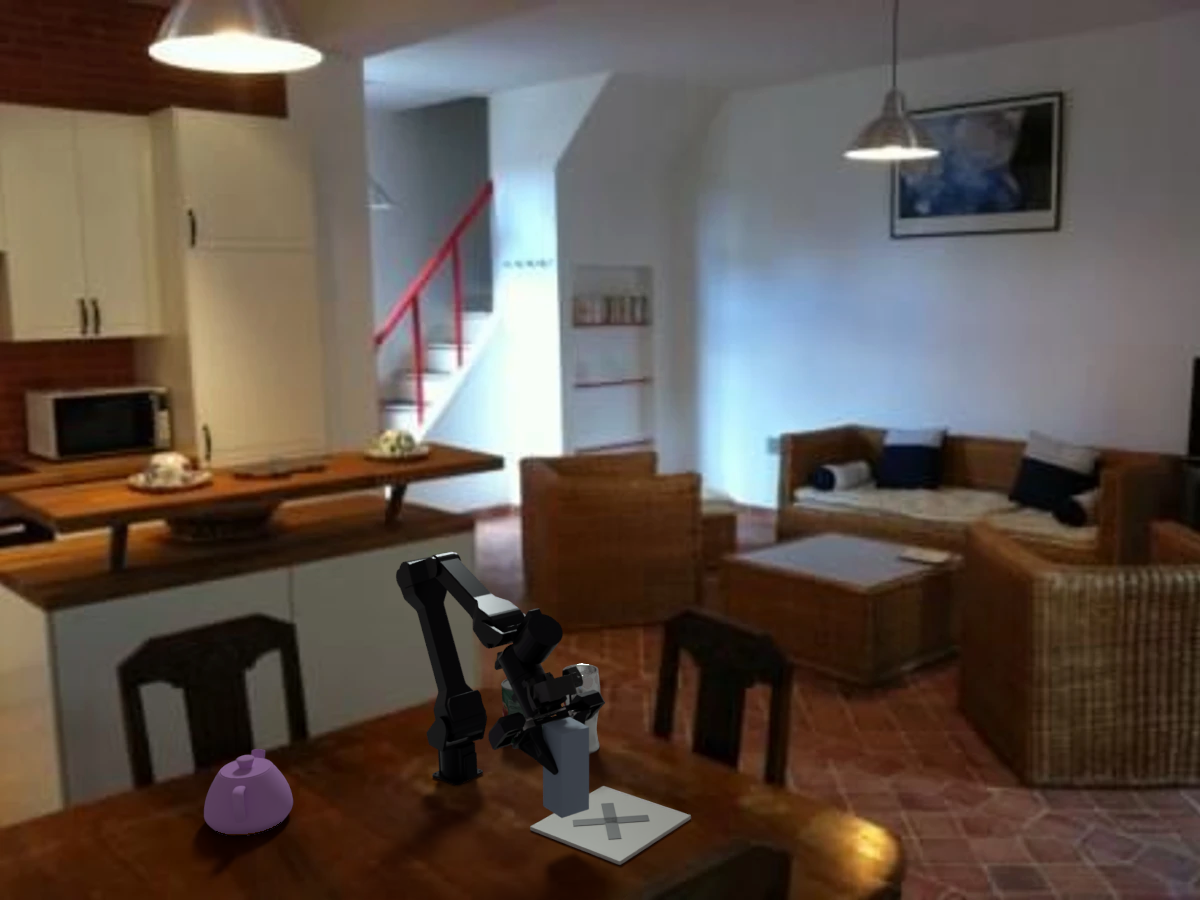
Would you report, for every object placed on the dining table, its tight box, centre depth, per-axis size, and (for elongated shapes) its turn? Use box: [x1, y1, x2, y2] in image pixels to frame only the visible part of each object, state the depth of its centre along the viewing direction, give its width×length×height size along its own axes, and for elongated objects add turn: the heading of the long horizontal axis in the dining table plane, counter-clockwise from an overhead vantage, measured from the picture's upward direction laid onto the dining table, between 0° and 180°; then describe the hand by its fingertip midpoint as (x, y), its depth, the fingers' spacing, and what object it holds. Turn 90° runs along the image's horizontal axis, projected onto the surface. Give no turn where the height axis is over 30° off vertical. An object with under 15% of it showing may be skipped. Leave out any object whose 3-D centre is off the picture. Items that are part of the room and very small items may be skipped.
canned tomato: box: [500, 678, 543, 746], centre depth 211 cm, size 8×8×11 cm
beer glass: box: [562, 663, 601, 755], centre depth 206 cm, size 7×7×15 cm
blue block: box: [542, 717, 590, 818], centre depth 170 cm, size 5×5×13 cm
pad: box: [529, 785, 692, 866], centre depth 177 cm, size 18×18×1 cm
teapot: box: [203, 748, 294, 834], centre depth 182 cm, size 14×20×11 cm
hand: (571, 768), depth 168 cm, fingers closed on blue block, 5 cm apart
